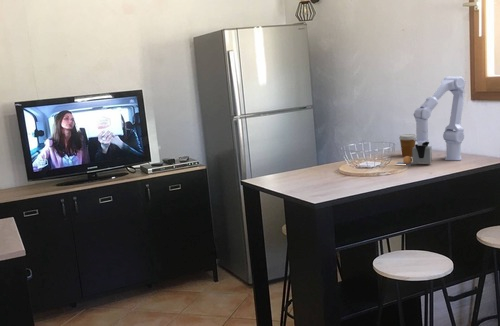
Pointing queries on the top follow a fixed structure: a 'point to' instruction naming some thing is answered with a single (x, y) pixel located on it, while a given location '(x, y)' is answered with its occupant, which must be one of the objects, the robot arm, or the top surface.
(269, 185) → the top surface
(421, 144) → the robot arm
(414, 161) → the grey block
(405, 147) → the disposable coffee cup
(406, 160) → the ball
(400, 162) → the tape square
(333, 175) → the top surface
